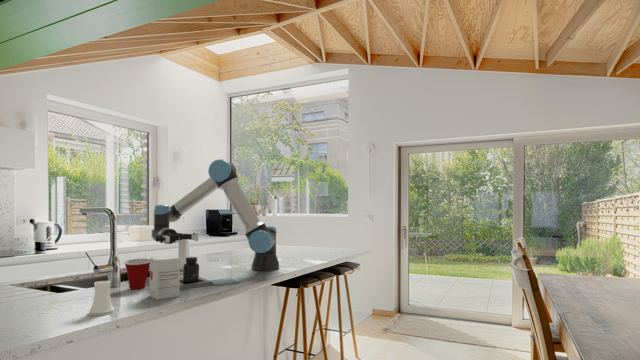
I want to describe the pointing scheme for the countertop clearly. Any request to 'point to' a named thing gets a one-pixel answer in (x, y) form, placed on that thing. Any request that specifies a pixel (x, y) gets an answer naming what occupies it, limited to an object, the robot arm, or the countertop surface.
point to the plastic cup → (137, 272)
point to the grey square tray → (191, 285)
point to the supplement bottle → (191, 271)
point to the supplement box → (164, 277)
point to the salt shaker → (101, 299)
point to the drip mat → (223, 281)
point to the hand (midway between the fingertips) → (183, 238)
